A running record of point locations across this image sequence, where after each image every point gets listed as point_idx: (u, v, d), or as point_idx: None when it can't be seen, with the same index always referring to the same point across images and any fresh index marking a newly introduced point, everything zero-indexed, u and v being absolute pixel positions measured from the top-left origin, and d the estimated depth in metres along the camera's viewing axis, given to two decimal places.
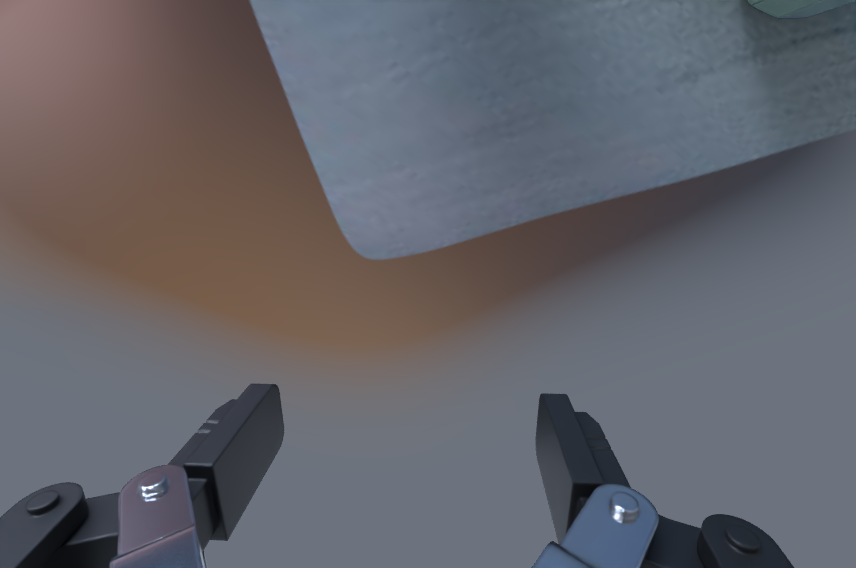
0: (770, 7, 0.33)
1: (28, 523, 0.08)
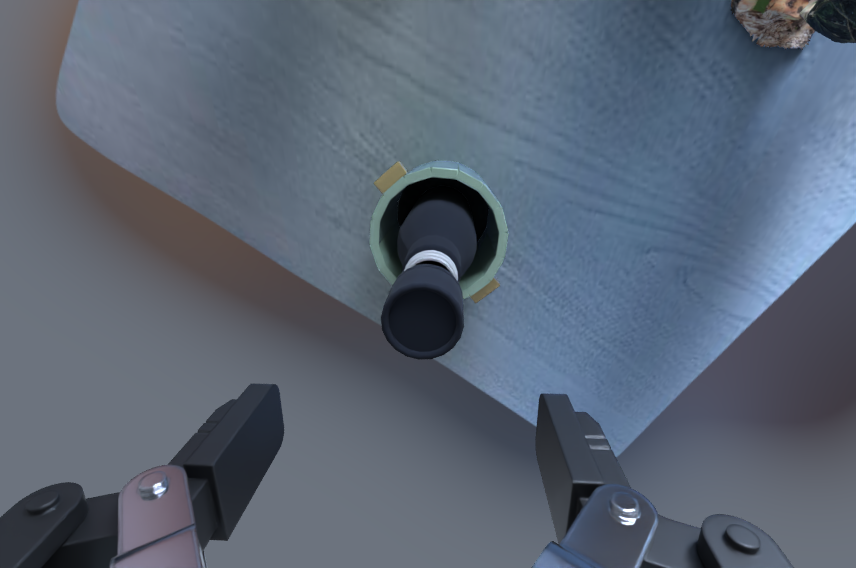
0: None
1: (28, 523, 0.08)
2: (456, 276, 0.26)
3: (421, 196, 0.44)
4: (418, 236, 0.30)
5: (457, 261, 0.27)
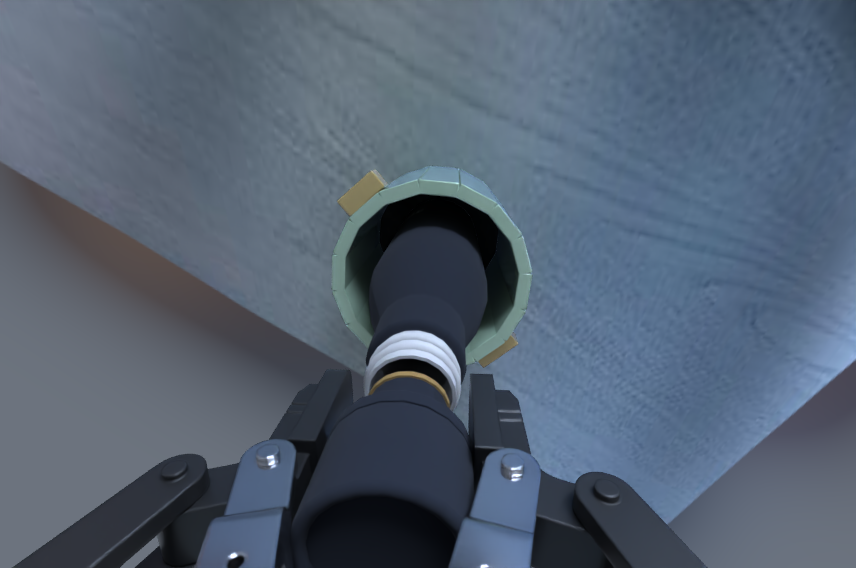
0: None
1: (159, 488, 0.09)
2: (458, 382, 0.14)
3: (409, 214, 0.33)
4: (396, 294, 0.18)
5: (460, 348, 0.16)
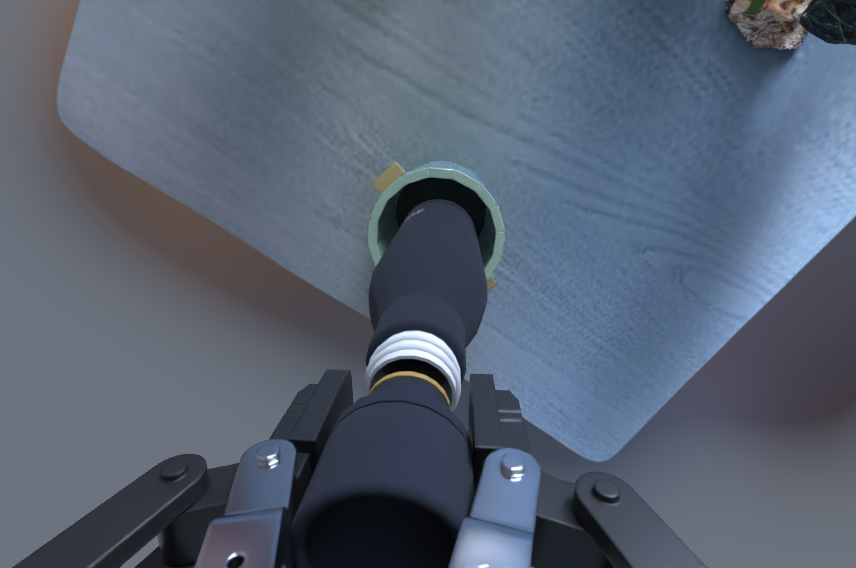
0: None
1: (159, 488, 0.09)
2: (458, 382, 0.14)
3: (409, 214, 0.33)
4: (396, 294, 0.18)
5: (460, 348, 0.16)
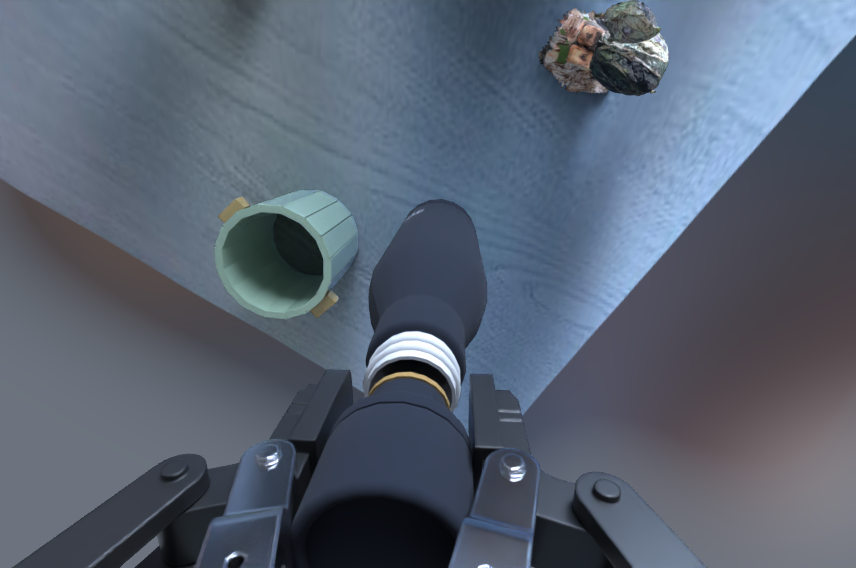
0: None
1: (159, 487, 0.09)
2: (458, 383, 0.14)
3: (409, 215, 0.33)
4: (395, 295, 0.18)
5: (459, 348, 0.16)
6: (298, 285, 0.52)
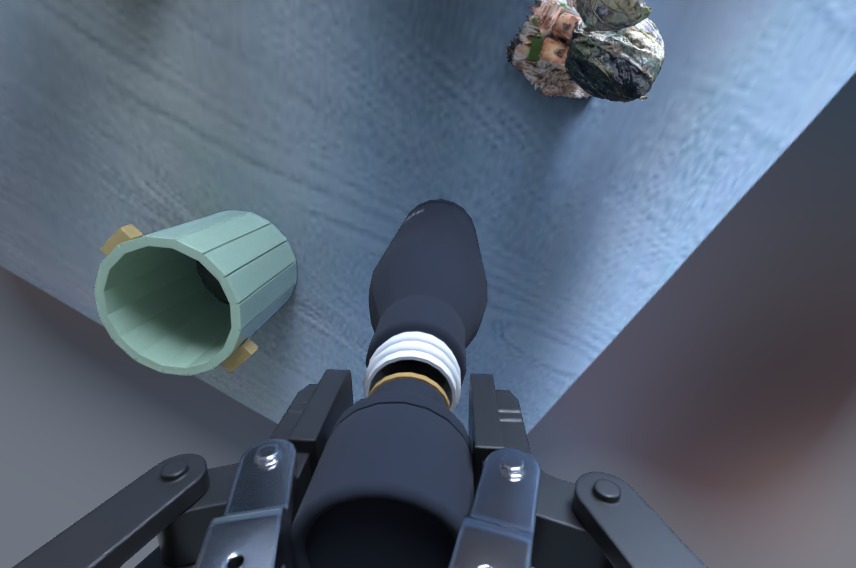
0: None
1: (159, 488, 0.09)
2: (458, 383, 0.14)
3: (409, 215, 0.33)
4: (395, 295, 0.18)
5: (460, 349, 0.16)
6: (220, 325, 0.43)
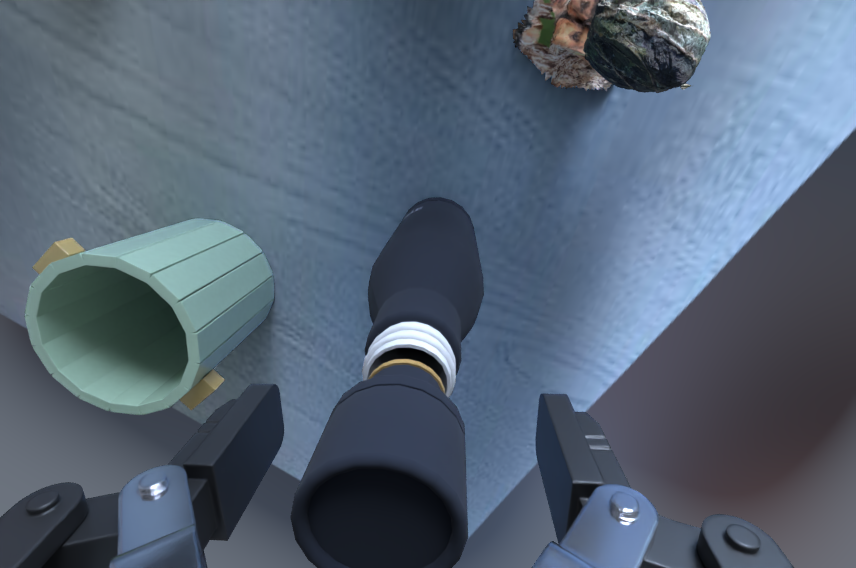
0: None
1: (28, 524, 0.08)
2: (453, 371, 0.15)
3: (408, 212, 0.34)
4: (394, 288, 0.19)
5: (455, 338, 0.16)
6: (186, 349, 0.38)
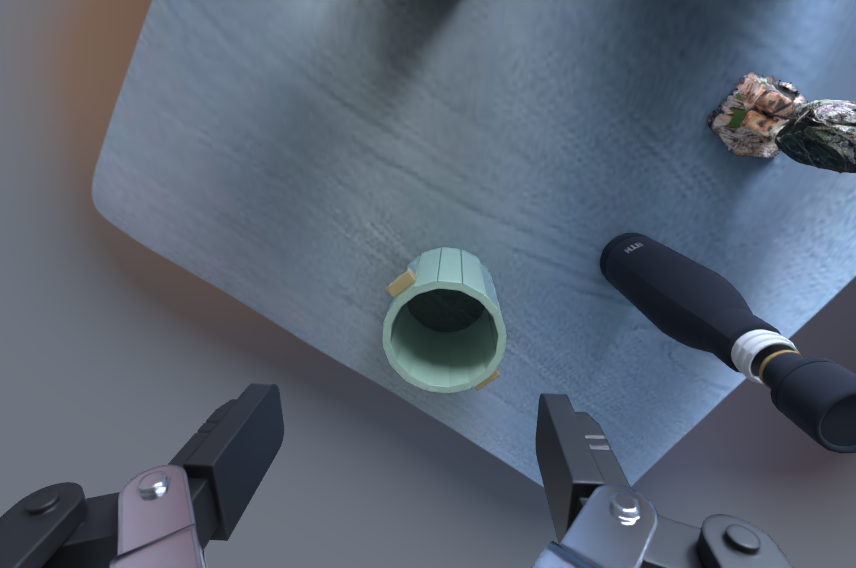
0: None
1: (28, 523, 0.08)
2: None
3: (623, 246, 0.46)
4: (716, 308, 0.31)
5: None
6: (438, 347, 0.50)
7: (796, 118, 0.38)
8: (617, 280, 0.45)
